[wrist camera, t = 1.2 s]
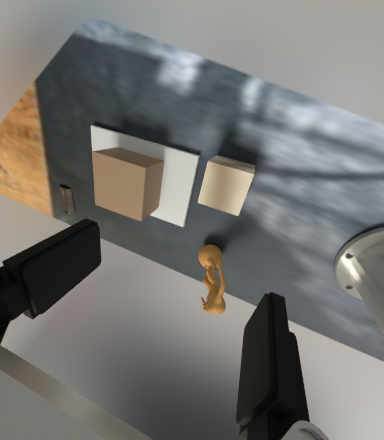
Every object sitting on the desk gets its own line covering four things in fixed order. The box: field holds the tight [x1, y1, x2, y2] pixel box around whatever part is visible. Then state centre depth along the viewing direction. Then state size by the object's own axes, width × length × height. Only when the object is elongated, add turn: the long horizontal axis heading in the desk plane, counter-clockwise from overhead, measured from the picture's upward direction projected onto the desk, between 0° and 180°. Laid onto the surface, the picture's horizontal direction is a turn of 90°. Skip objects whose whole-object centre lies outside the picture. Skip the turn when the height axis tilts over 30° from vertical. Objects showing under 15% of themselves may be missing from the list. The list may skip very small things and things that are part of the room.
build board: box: [91, 126, 200, 227], centre depth 29 cm, size 18×12×6 cm, turn 78°
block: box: [59, 185, 76, 214], centre depth 39 cm, size 4×6×2 cm, turn 170°
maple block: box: [198, 155, 255, 216], centre depth 25 cm, size 5×5×5 cm
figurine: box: [199, 245, 226, 314], centre depth 28 cm, size 8×6×12 cm
